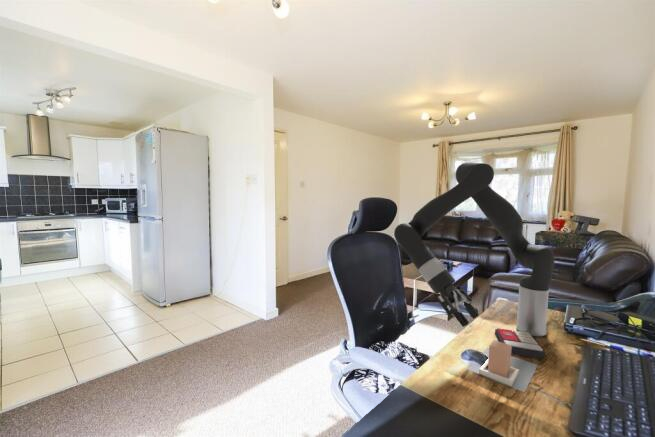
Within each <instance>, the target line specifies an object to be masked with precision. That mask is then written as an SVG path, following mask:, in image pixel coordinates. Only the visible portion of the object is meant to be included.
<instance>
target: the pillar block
mask: <svg viewBox="0 0 655 437" xmlns="http://www.w3.org/2000/svg"><path fill="white" fill-rule="evenodd" d="M488 346H489V347H488V348H489V360H488V371H489V372H492V373H494V374H497V375H500V376H502V377H505V378H507V377H508V375H509V374H510V364H511V356H512V354H511V350H512V346H511V345H508V344H505V343H502V342H499V340H495V339H494V340H493V341H492V342H491V343H490V344H489V345H488Z"/></svg>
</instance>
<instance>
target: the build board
mask: <svg viewBox="0 0 655 437" xmlns="http://www.w3.org/2000/svg"><path fill="white" fill-rule="evenodd" d="M482 353H483V354H484V355H486V356H487V357H488V359H487V360H486V361H485V363H484V364H483V365H482V366H481V367H480V366H478V365H476V364H474V362H472V363H471V365H470V366H469V367H468V368H467V370H468V371H470V372H472V373H475V374H477V375H480V376H481V377H485V378H488V379H490V380H492V381H494V382H497V383H500V384H502V385H504V386H507V387H510V388H512V389H515V390H518V391H519V392H523V393H525V392H526V390H527V388H528V385H529V384H530V382H531V380H532V378H533V376H534V374H535V372H536V370H537V368H538V366H539V364H537V363H534V362H530V361H528V360H525V359H522V358H518V357H516V356H513V355H511V364H510V374H509V375H508V377H507V378H505V377H502V376H500V375H497V374H494V373H492V372H489V371H488V370H486V367H487V366H488V360H489V347H486V348H485V349H484V350H483V351H482Z"/></svg>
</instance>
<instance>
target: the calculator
mask: <svg viewBox="0 0 655 437" xmlns="http://www.w3.org/2000/svg"><path fill="white" fill-rule="evenodd" d="M494 334H495V336H496V338H497V341H498V342H502V343H505V344H508V345H511V346H512V350H511V355H516V356H524V357H530V358H535V359H541V360H545V358H546V351H544V349H543V348H542V347H541V345H539V343H538V341H536V340H535V338H533V337H534V336H532V335H530V334H529V333H527V332H520V331H519V330H511V329H505V328H498V327H497V328H495V329H494Z"/></svg>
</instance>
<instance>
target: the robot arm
mask: <svg viewBox="0 0 655 437" xmlns="http://www.w3.org/2000/svg"><path fill="white" fill-rule="evenodd" d="M494 177H495V171H494V168H493V167H492V166H491V165H490V164H489V163H487V162H480V161H468V162H463V163H461V164H460V165H458V166H457V168H456V171H455V179H456V181H457V184H456V185H455V186H453V187H452V188H451V189H449V190H448V191H445V192H444V193H442V194H440V195H438V196H436V197H434V198H433V199H431V200H430V201H428V202H426V204H424V205H423V206H422V207H421V208H420V209H419V210H417V211H416V213H415V214H414V215H413V217H412V219H411V220H410V221H409V222H408V223H403V222H402V223H400V224H398V225H397V226H396V227H395V229H394V232H393V234H394V235H393V236H394V238H395V241H396V243H397V245H398V246H399V247H402V248H403V251H405V252H406V254H407V255H408V257H409V258H410V261H411V263H413V265H414V266H415V268H416V269H417V270H418V272H419V273H420V275H421V277H422V278H423V279H424V281H425V282H426V283H427V285H428V286H429V287H430V289H431V290H432V291H433V293H434V294H435V295H438V296H437V297H436V299H437V301H438V303H439V304H440V305H441V307H442V308H443V309H444V311H445V313H446V314H447V315H448V316H453V317H455V319H456V320H457V322H459V324H460V325H461V326H462V327H466V326H468V325H469V324H470V322H469V320H468V318H467V317H466V316H465V314H463V312H462V311H461V310H460V306H462V307H463V308H464V310H466V312H467V313H468V314H469V316H470V317H471V318H472V319H476V318H477V317H479V315H480V314H479V312H478V311H477V309H476V308H475V307H474V306H473V305H472V301H473V299H472V298H471V297H470V295H469V294H468V292H466V291H465V290H464V288H463V287H462V286H461V284H460V285H459V284H458V285H456V286H455V285H454V284H455V283H456V278H454V277H453V276H452V274H451V273H450V272H449V270H447V268H446V267H445V266H444V264H443V263H442V262H441V261H440V260H439V259H438V258H437V257H436V255H435V254H434V253H433V252H432V251H431V250H430V248H429V247H428V246H427V245H426V243H425V242H424V241H423V239H422V237H423V236H424V235H425V234H426V232H427V231H428V230H429V229H431V228H432V227H433V226H434V225H435V224H437V223H438V222H439V221H441V219H442V218H443V217H445V216H446V215H447V214H449V213H450V212H451V211H452V210H454V209H456V207H458V206H459V205H461V204H462V203H464V202H465V201H467V200H469V199H470V198H471V199H473V201H474V202H475V203H476V205H477V206H478V208H479V209H480V210H481V212H482V213H483V214H484V216H485V217H486V218H487V221H489V223H490V224H491V225H492V227H493V228H494V229H495V230H496V231H497V233H498V234H499V235H500V238H502V239H503V241H504V242H505V244H506V245H507V246H508V248H509V250H510V252H511V253H512V256H514V258H515V260H516V262H517V263H518V264H519V265H520V266H522V267H524V268H527V269H529V270H530V269H531V270H532V272H531V275H530V276H523V277H521V278H520V279H519V286H518V288H519V289H518V298H517V299H518V302H517V303H518V304H517V316H516V329H517V331H520V332H527V333H529V334H530V335H531V336H532V337H543V336H546V332H547V331H546V330H547V318H548V308H549V307H548V304H549V292H550V291H549V290H550V285H551V283H552V280H553V273H554V267H555V254H554V251H553V250H552V249H551V248H550V247H547V246H543V245H536V244H531V243H530V242H529V241H528V240H527V239H526V238H525V236H524V235H523V228H524V224H523V222H524V221H523V219H522V216H521V215H520V213H519V212H518V211H517V209H516V208H515V207H514V206H513V204H511V203H510V202H509V201H508V200H507V199H506V198H504V197H503V196H502V195H500V193H498V192H496V191H495V190H494V189H493V188H492V187H491V186H490V185H491V184H492V181H493V180H494Z"/></svg>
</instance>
